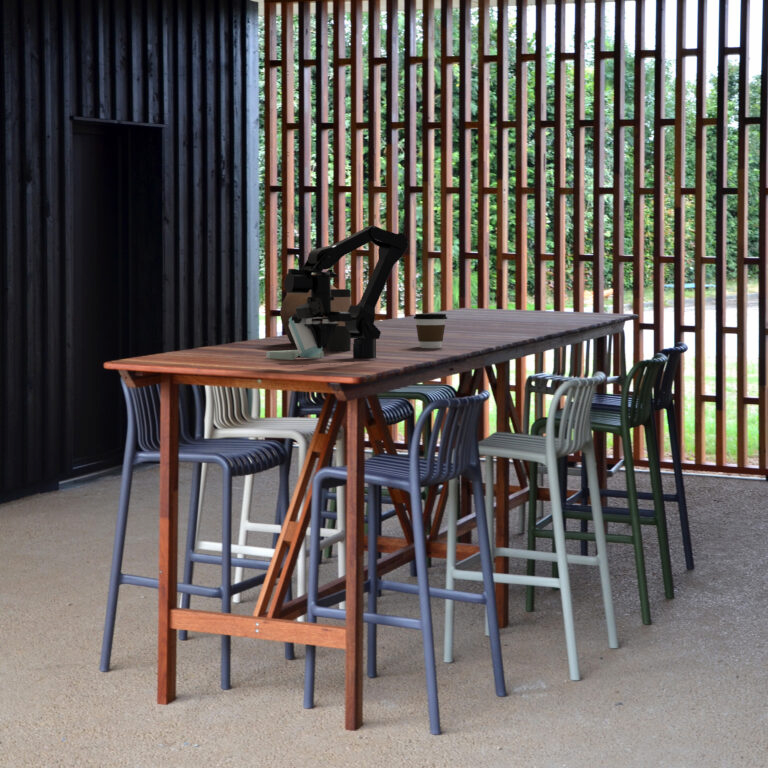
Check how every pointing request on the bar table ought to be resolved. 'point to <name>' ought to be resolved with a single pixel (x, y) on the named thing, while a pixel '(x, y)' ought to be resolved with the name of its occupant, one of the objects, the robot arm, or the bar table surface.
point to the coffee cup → (430, 329)
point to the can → (303, 338)
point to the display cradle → (289, 354)
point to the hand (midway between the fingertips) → (321, 348)
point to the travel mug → (340, 335)
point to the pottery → (293, 309)
